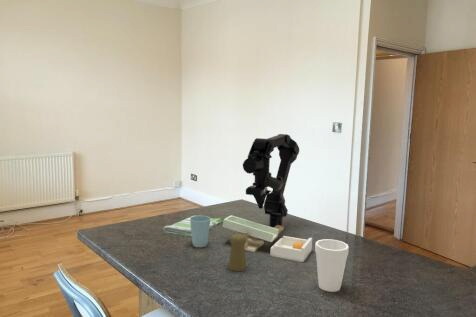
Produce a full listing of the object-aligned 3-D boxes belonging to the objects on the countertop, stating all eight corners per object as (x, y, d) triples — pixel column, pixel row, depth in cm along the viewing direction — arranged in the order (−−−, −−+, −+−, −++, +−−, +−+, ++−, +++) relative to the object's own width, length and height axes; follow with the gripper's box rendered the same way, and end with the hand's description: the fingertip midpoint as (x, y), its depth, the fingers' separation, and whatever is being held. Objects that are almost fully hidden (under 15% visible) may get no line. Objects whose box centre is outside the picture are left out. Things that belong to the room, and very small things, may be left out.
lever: (239, 216, 160) (240, 209, 160) (284, 229, 153) (286, 222, 152) (222, 226, 146) (223, 219, 145) (271, 242, 138) (272, 234, 137)
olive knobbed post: (248, 265, 128) (249, 233, 126) (243, 272, 122) (244, 239, 120) (231, 262, 129) (232, 231, 128) (225, 269, 124) (226, 236, 122)
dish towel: (161, 232, 160) (161, 224, 159) (191, 218, 180) (191, 211, 180) (196, 239, 153) (197, 230, 152) (223, 224, 173) (223, 216, 173)
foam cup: (339, 297, 107) (342, 253, 105) (308, 288, 112) (310, 246, 110) (349, 284, 115) (352, 243, 113) (319, 276, 120) (322, 237, 118)
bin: (280, 245, 147) (281, 232, 146) (311, 250, 142) (312, 237, 141) (270, 256, 136) (270, 242, 135) (303, 262, 131) (304, 248, 130)
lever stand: (245, 239, 152) (245, 223, 151) (264, 243, 149) (264, 226, 148) (234, 248, 142) (234, 231, 141) (254, 252, 139) (254, 234, 138)
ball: (292, 244, 140) (300, 237, 139) (299, 252, 140) (307, 246, 138) (288, 247, 137) (297, 241, 135) (296, 256, 136) (304, 250, 134)
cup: (205, 240, 150) (205, 214, 149) (213, 246, 144) (214, 219, 142) (186, 243, 146) (187, 216, 145) (194, 249, 140) (195, 222, 138)
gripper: (273, 175, 140) (272, 217, 142) (288, 168, 157) (286, 205, 159) (245, 172, 144) (244, 213, 147) (263, 166, 161) (261, 202, 163)
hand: (260, 208), depth 154 cm, fingers closed
